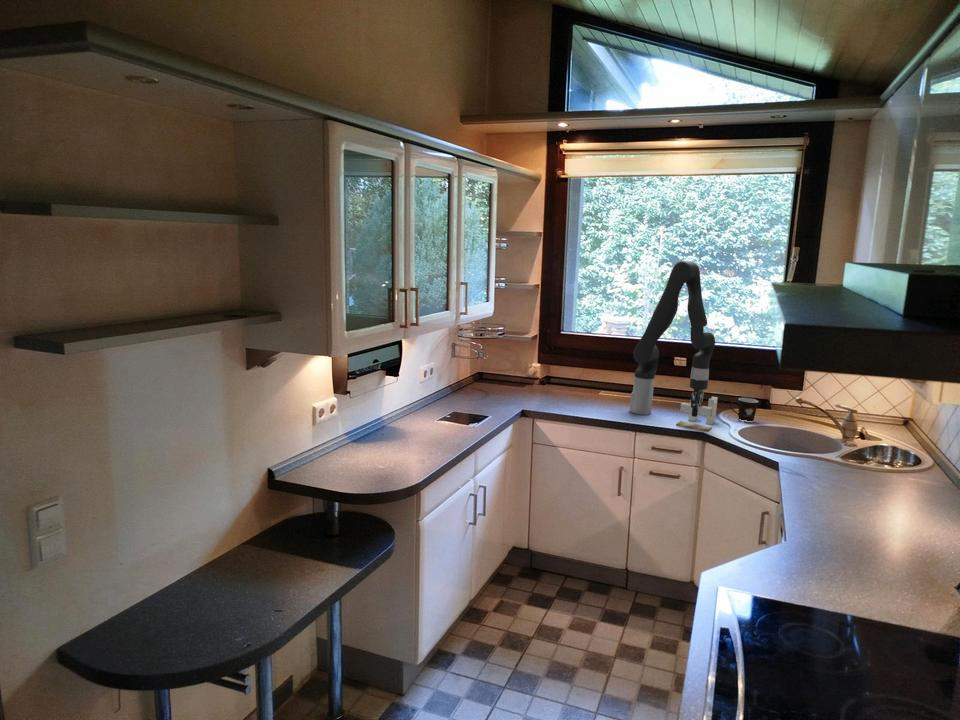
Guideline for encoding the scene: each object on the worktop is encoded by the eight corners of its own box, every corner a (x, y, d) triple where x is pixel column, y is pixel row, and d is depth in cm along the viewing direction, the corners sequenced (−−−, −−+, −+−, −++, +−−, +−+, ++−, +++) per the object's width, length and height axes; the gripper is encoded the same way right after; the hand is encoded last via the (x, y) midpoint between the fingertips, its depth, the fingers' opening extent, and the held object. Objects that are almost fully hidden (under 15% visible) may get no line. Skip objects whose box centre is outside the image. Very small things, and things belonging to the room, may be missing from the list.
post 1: (688, 420, 305) (690, 395, 303) (691, 417, 310) (694, 393, 308) (693, 421, 304) (696, 396, 302) (697, 418, 309) (700, 394, 307)
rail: (680, 411, 295) (680, 404, 294) (682, 410, 298) (683, 402, 297) (710, 416, 288) (710, 409, 287) (712, 415, 291) (712, 407, 290)
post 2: (705, 423, 301) (708, 398, 299) (709, 420, 306) (712, 396, 304) (711, 424, 300) (714, 399, 297) (714, 421, 305) (717, 397, 302)
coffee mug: (757, 420, 310) (759, 400, 308) (753, 424, 302) (756, 403, 300) (731, 416, 315) (733, 395, 314) (727, 420, 308) (730, 399, 306)
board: (676, 425, 295) (676, 423, 295) (680, 422, 300) (680, 420, 300) (708, 431, 288) (708, 430, 288) (711, 428, 293) (711, 426, 293)
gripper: (695, 373, 298) (691, 410, 301) (686, 379, 286) (682, 417, 289) (712, 376, 294) (708, 413, 297) (703, 381, 282) (699, 420, 285)
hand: (695, 415), depth 293 cm, fingers closed on rail, 3 cm apart
